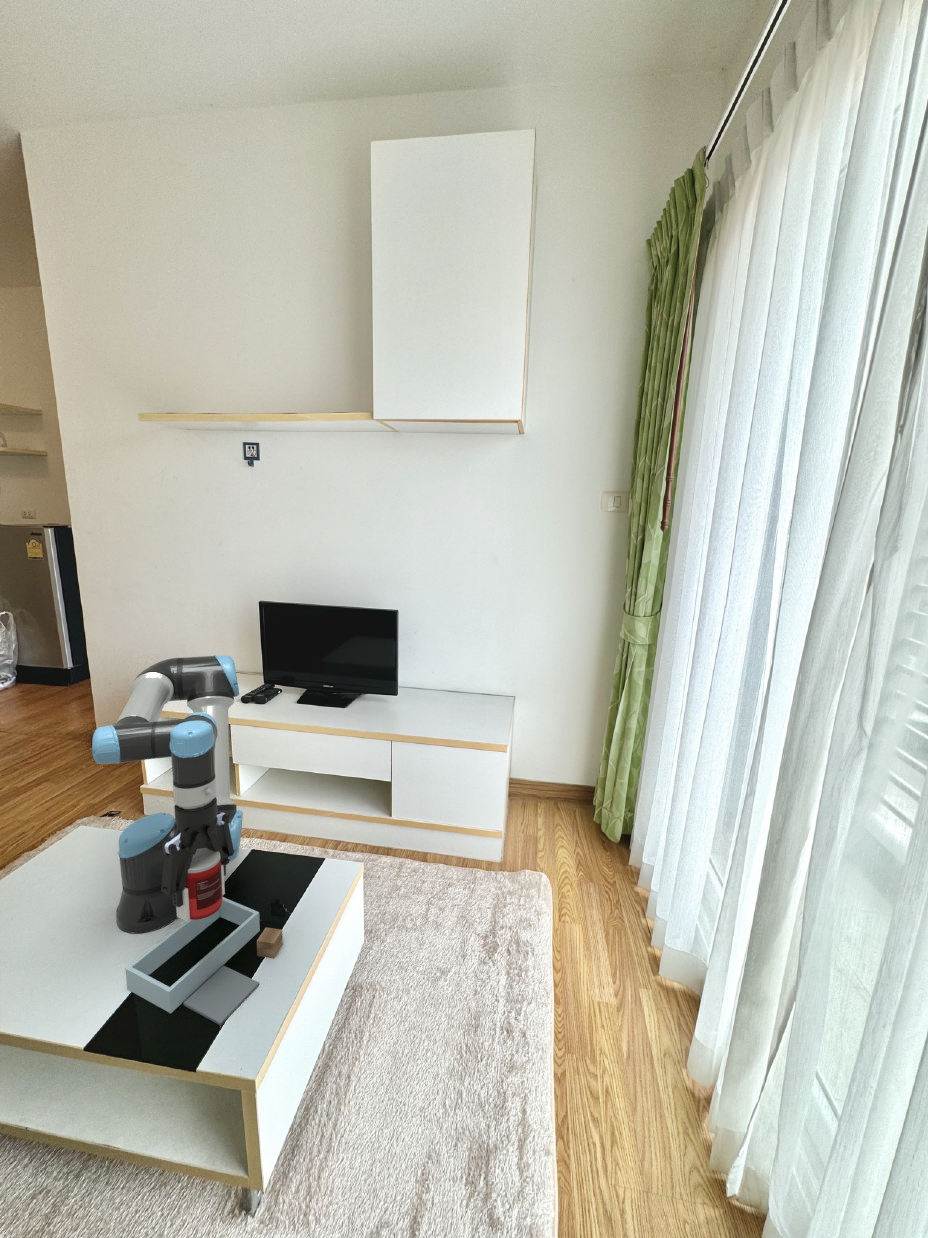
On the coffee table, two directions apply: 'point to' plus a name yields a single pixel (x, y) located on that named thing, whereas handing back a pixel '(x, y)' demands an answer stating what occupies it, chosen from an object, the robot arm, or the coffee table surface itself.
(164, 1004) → the bin
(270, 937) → the walnut block
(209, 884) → the canned food
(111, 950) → the coffee table surface
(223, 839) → the robot arm
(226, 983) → the pad
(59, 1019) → the coffee table surface
